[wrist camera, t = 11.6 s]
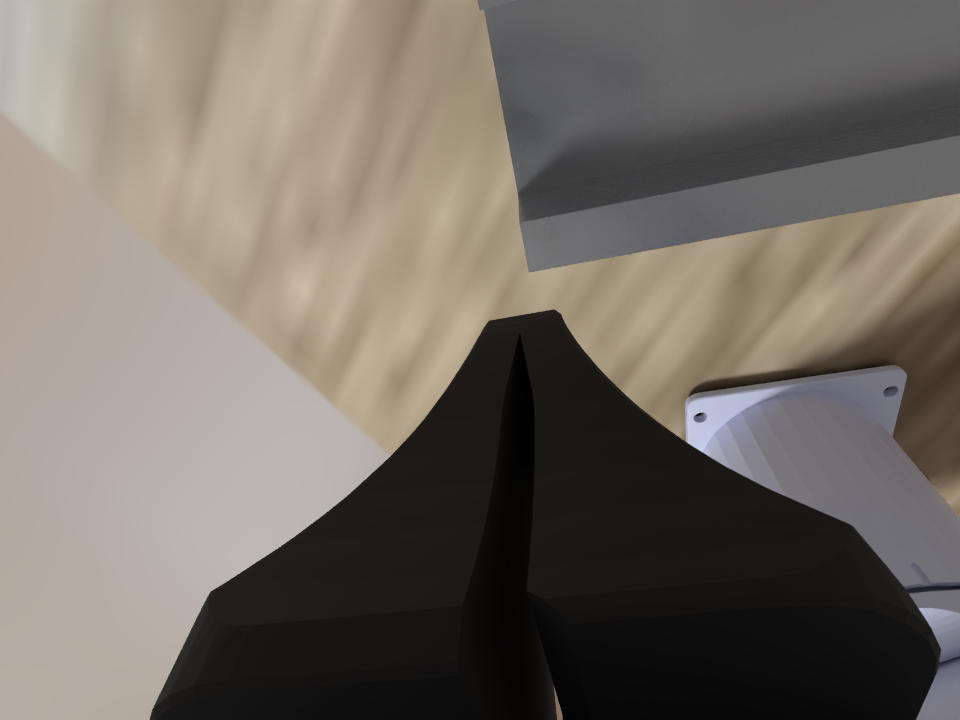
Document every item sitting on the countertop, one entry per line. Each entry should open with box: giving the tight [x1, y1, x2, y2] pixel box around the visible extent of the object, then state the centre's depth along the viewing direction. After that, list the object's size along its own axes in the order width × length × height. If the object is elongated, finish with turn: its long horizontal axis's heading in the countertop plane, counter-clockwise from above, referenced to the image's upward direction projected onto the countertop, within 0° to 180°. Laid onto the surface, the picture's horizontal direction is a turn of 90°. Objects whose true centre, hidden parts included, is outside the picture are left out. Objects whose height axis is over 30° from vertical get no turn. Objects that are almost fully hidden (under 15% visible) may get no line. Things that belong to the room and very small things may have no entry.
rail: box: [478, 0, 960, 272], centre depth 14 cm, size 10×16×4 cm, turn 102°
